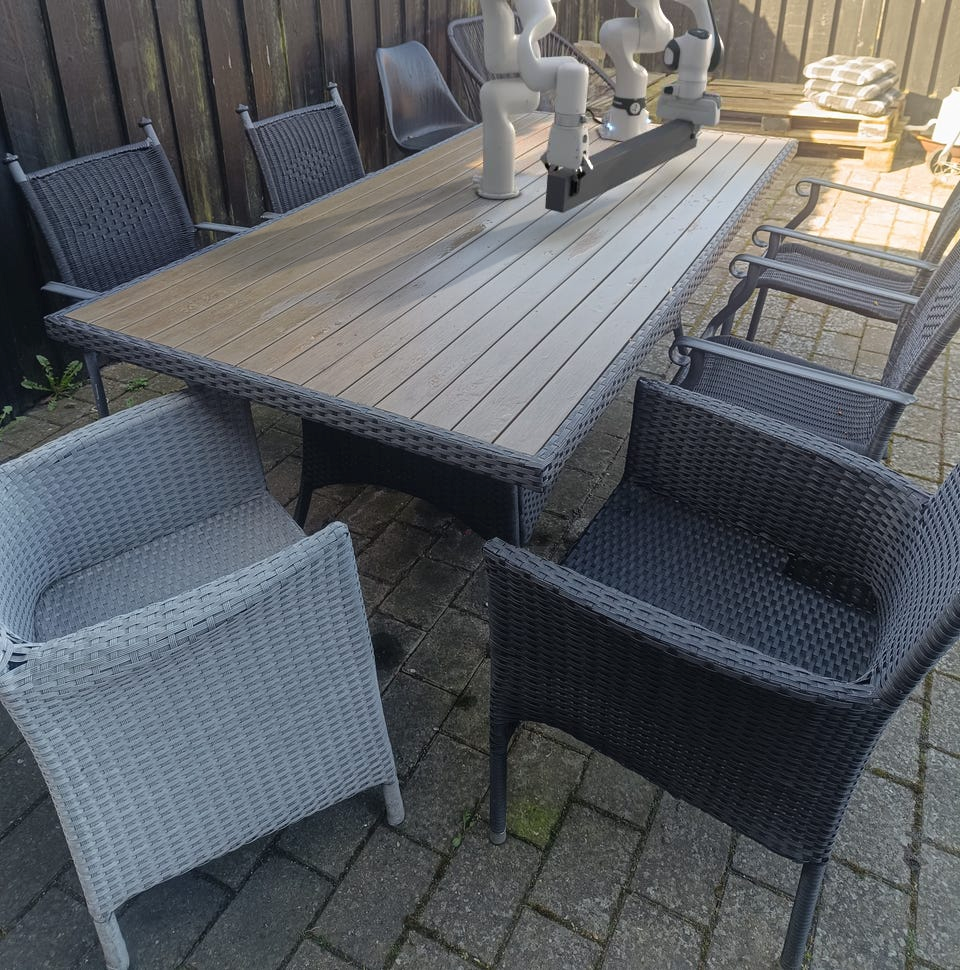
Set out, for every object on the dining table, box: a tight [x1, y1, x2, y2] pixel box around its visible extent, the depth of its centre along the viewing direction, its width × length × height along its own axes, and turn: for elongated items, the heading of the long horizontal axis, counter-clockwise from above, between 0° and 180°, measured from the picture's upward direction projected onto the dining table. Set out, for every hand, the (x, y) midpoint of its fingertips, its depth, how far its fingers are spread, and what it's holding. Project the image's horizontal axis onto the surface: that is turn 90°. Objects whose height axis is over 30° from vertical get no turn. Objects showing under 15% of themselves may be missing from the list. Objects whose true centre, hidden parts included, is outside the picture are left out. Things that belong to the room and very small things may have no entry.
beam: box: [544, 119, 698, 214], centre depth 242 cm, size 81×6×9 cm, turn 144°
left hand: (564, 192), depth 218 cm, fingers closed on beam, 5 cm apart
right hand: (684, 136), depth 266 cm, fingers closed on beam, 5 cm apart
